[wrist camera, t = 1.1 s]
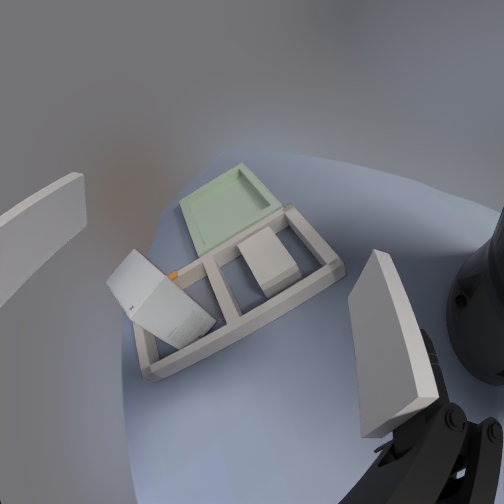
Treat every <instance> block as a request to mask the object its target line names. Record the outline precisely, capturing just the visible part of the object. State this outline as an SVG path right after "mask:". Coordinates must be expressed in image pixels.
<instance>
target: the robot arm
mask: <svg viewBox="0 0 504 504" xmlns="http://www.w3.org/2000/svg"><path fill="white" fill-rule="evenodd" d="M86 226H87V219H86V207H85V192H84V174H80V173H75V172H72V173H70V174H68V175H66V176H65V177H63V178H61V179H59V180H57V181H55V182H54V183H52V184H50V185H48V186H47V187H45V188H43V189H42V190H40V191H38V192H37V193H35V194H33V195H32V196H30V197H28V198H27V199H25V200H24V201H22V202H21V203H19V204H17V205H16V206H14V207H13V208H11V209H10V210H9V211H7V212H6V213H4V214H3V215H1V216H0V308H1V307H2V305H3V304H4V303H5V302H6V301H7V300H8V299H9V298H10V297H11V296H12V295H13V294H14V293H15V291H16V290H17V289H18V288H19V287H20V286H21V285H22V284H23V283H24V282H25V281H26V280H27V279H28V278H29V277H30V276H31V275H32V274H33V273H34V272H35V271H36V270H37V269H38V268H39V267H40V266H41V265H42V264H43V263H44V262H46V261H47V260H48V259H49V258H50V257H51V256H52V255H53V254H54V253H55V252H56V251H57V250H59V249H60V248H61V247H62V246H63V245H64V244H65V243H66V242H68V241H69V240H70V239H71V238H72V237H73V236H75V235H76V234H77V233H78V232H79V231H81V230H82V229H83V228H84V227H86ZM347 299H348V305H349V312H350V319H351V326H352V333H353V341H354V349H355V358H356V367H357V378H358V389H359V403H360V420H361V438H382V437H384V436H385V435H387V434H388V433H390V432H392V431H393V439H392V440H390V441H389V442H387V443H385V444H383V445H382V446H380V447H378V448H377V449H376V450H375V451H374V452H375V453H377V452H379V451H381V450H382V452H381V453H380V455H379V456H378V457H377V459H376V460H375V461H374V463H373V464H372V465H371V466H370V468H369V469H368V470H367V471H366V473H365V474H364V475H363V476H362V478H361V479H360V480H359V481H358V482H357V484H356V485H355V486H354V487H353V488H352V489H351V490H350V492H349V493H348V494H347V495H346V496H345V497H344V498H343V499H342V500H341V501H340V502H339V503H338V504H494V500H495V496H496V491H497V486H498V480H499V474H500V467H501V459H502V449H503V431H502V427H501V425H500V423H499V422H498V421H497V420H496V419H495V418H492V417H489V418H487V419H485V420H484V421H483V422H481V423H480V424H475V423H472V422H469V421H467V418H466V415H465V413H464V411H463V410H462V409H461V408H460V406H458V405H457V404H455V403H450V402H449V398H448V394H447V391H446V387H445V383H444V379H443V376H442V372H441V369H440V366H438V364H439V362H438V359H437V356H435V354H436V353H435V350H434V347H433V344H432V341H431V340H430V338H429V337H428V335H427V334H426V332H425V331H424V330H423V329H419V327H418V324H417V321H416V318H415V315H414V313H413V310H412V307H411V305H410V302H409V299H408V297H407V294H406V292H405V289H404V287H403V284H402V282H401V280H400V277H399V275H398V273H397V270H396V268H395V266H394V263H393V261H392V259H391V257H390V255H389V254H388V253H385V252H382V251H378V250H375V249H374V250H373V252H372V254H371V256H370V258H369V260H368V261H367V263H366V265H365V267H364V269H363V271H362V273H361V275H360V277H359V278H358V280H357V282H356V284H355V286H354V288H353V289H352V291H351V293H350V295H349V296H348V298H347ZM447 326H448V332H449V336H450V340H451V343H452V345H453V348H454V350H455V352H456V354H457V356H458V358H459V359H460V361H461V362H462V364H463V365H464V366H465V368H466V369H467V370H468V371H469V372H470V373H471V374H473V375H474V376H475V377H477V378H478V379H480V380H482V381H484V382H486V383H489V384H493V385H504V208H503V210H502V213H501V216H500V218H499V221H498V223H497V226H496V229H495V231H494V234H493V236H492V238H491V239H489V240H488V241H487V242H486V243H485V244H484V245H483V246H482V247H480V248H479V249H478V250H477V251H476V252H475V253H473V254H472V255H471V256H470V257H469V258H468V259H467V260H466V262H465V263H464V264H463V266H462V267H461V269H460V270H459V272H458V274H457V276H456V279H455V281H454V283H453V285H452V288H451V290H450V293H449V297H448V303H447ZM465 468H466V470H465V475H464V476H463V477H461V478H459V479H457V478H456V476H457V472H459V471H461V470H463V469H465ZM0 504H1V502H0Z"/></svg>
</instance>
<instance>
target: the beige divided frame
mask: <svg viewBox="0 0 504 504" xmlns="http://www.w3.org/2000/svg"><path fill="white" fill-rule="evenodd" d="M268 226H269V227H270V228H271V229H272V231H273V232H274V233H275V234H276V233H278V232H280V231H281V230H283V229H285V228H286V227H288V226H290V227H291V228H292V229H293V231H294V232H295V233H296V234H297V236H298V237H299V238H300V239H301V240H302V242H303V243H304V244H305V245H306V247H307V248H308V249H309V250H310V251H311V253H312V254H313V255H314V256H315V258H316V259H317V260H318V261H319V263H320V264H321V265H322V266H323V267H322V268H320V269H319V270H317V271H316V272H314V273H312V274H311V275H309V276H308V277H306V278H304V279H303V280H301V281H300V282H298V283H296V284H295V285H293V286H291V287H290V288H288V289H286V290H285V291H283V292H282V293H280V294H278V295H277V296H275V297H273V298H272V299H270V300H268V301H266V302H265V303H263V304H261V305H260V306H258V307H256V308H255V309H253V310H251V311H249V312H248V313H246V314H244V315H243V314H242V312H241V310H240V308H239V305H238V303H237V301H236V299H235V297H234V295H233V293H232V290H231V288H230V286H229V284H228V282H227V279H226V277H225V275H224V273H223V271H222V268H221V267H222V266H223V265H225V264H226V263H228V262H230V261H231V260H233V259H235V258H236V257H238V256H240V255H241V254H242V253H241V251H240V249H239V248H238V246H237V245H238V244H239V243H241V242H243V241H244V240H246V239H248V238H249V237H251V236H253V235H254V234H256V233H258V232H259V231H261V230H263V229H264V228H266V227H268ZM207 275H208V278H209V280H210V283H211V285H212V288H213V290H214V293H215V295H216V298H217V300H218V303H219V305H220V308H221V310H222V312H223V315H224V317H225V320H226V322H227V325H225V326H223V327H221V328H219V329H218V330H216V331H214V332H212V333H210V334H209V335H207V336H205V337H203V338H201V339H199V340H198V341H196V342H194V343H192V344H190V345H188V346H186V347H185V348H183V349H181V350H179V351H177V352H175V353H173V354H171V355H169V356H167V357H165V358H163V359H162V360H160V358H159V354H158V349H157V345H156V340H155V336H154V335H153V334H152V333H150V332H148V331H147V330H145V329H144V328H142V327H140V326H139V325H137V324H136V323H134V322H133V327H134V334H135V340H136V346H137V352H138V358H139V363H140V368H141V373H142V377H143V378H146V379H148V380H151V381H153V382H157V381H159V380H162V379H164V378H166V377H168V376H170V375H172V374H174V373H176V372H178V371H180V370H182V369H184V368H186V367H188V366H190V365H192V364H194V363H196V362H198V361H200V360H202V359H204V358H206V357H208V356H210V355H212V354H214V353H216V352H218V351H220V350H221V349H223V348H225V347H227V346H229V345H231V344H233V343H234V342H236V341H238V340H240V339H242V338H244V337H245V336H247V335H249V334H251V333H253V332H254V331H256V330H258V329H260V328H261V327H263V326H265V325H267V324H268V323H270V322H272V321H273V320H275V319H277V318H278V317H280V316H282V315H284V314H285V313H287V312H289V311H290V310H292V309H294V308H295V307H297V306H298V305H300V304H302V303H303V302H305V301H307V300H308V299H310V298H311V297H313V296H315V295H316V294H318V293H319V292H321V291H322V290H324V289H326V288H327V287H329V286H330V285H332V284H333V283H335V282H336V281H338V280H339V279H341V278H342V277H344V276H345V275H346V272H345V266H344V262H343V261H342V260H341V259H340V257H339V256H338V255H337V254H336V253H335V252H334V251H333V249H332V248H331V247H330V246H329V245H328V244H327V243H326V242H325V240H324V239H323V238H322V237H321V236H320V235H319V234H318V233H317V232H316V230H315V229H314V228H313V227H312V226H311V225H310V224H309V223H308V222H307V221H306V219H305V218H304V217H303V216H302V215H301V214H300V213H299V212H298V211H297V210H296V209H295V208H294V207H293V206H292V204H291V203H290V204H289V205H287V206H285V207H283V208H282V209H280V210H278V211H277V212H275V213H273V214H272V215H270V216H268V217H266V218H265V219H263V220H261V221H260V222H258V223H256V224H255V225H253V226H251V227H250V228H248V229H246V230H245V231H243V232H241V233H240V234H238V235H236V236H235V237H233V238H231V239H230V240H228V241H226V242H225V243H223V244H221V245H220V246H218V247H217V248H215V249H213V250H212V251H210V252H208V253H207V254H205V255H203V256H202V257H200V258H199V259H197V260H195V261H194V262H192V263H190V264H189V265H187V266H186V267H184V268H182V269H181V270H179V271H178V272H177V271H174V272H173V273H171V274H169V275H168V277H169V278H170V279H171V280H172V281H173V282H174V283H175V284H176V285H177V286H178V287H180V288H181V289H182V290H183V289H185V288H187V287H188V286H190V285H192V284H193V283H195V282H197V281H198V280H200V279H202V278H203V277H205V276H207Z"/></svg>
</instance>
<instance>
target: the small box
mask: <svg viewBox="0 0 504 504" xmlns="http://www.w3.org/2000/svg"><path fill="white" fill-rule="evenodd" d="M105 284H106V285H107V287H108V288H109V289H110V291H111V292H112V294H113V295H114V297H115V298H116V299H117V301H118V302H119V304H120V305H121V307H122V308H123V310H124V311H125V313H126V315H127V316H128V318H129V319H130V320H131V321H133V322H134V323H136V324H137V325H139V326H140V327H142V328H144V329H145V330H147V331H148V332H150V333H152V334H153V335H155V336H156V337H158V338H160V339H161V340H163V341H165V342H166V343H168V344H170V345H172V346H173V347H175V348H177V349H178V350H181V349H183V348H185V347H186V346H188V345H190V344H192V343H194V342H196V341H198V340H199V339H201V338H203V337H204V336H205V335H206V334H207V332H208V331H209V330H210V329H211V328H212V326H213V325H214V324H215V323H216V319H214V318H213V317H212V316H211V315H210V314H209V313H208V312H206V311H205V310H204V309H203V308H202V307H201V306H200V305H198V304H197V303H196V302H195V301H194V300H193V299H192V298H190V297H189V296H188V295H187V294H186V293H185V292H184V291H183V290H182V289H181V288H180V287H178V286H177V285H176V284H175V283H174V282H173V281H172V280H171V279H170V278H169V277H168V276H167V275H165V274H164V273H163V272H162V271H161V270H160V269H159V268H158V267H157V266H155V265H154V264H153V263H152V262H151V261H150V260H149V259H147V258H146V257H145V256H144V255H143V254H142V253H140V252H139V251H138V250H137V249H136V248H135V249H133V250H132V251H131V253H130V254H129V255H128V256H127V257H126V258H125V259H124V260H123V262H122V263H121V264H120V265H119V266H118V267H117V269H116V270H115V271H114V272H113V273H112V275H111V276H110V277H109V278H108V279H107V280H106V282H105Z"/></svg>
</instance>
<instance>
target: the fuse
mask: <svg viewBox="0 0 504 504" xmlns="http://www.w3.org/2000/svg"><path fill="white" fill-rule="evenodd" d="M237 246H238V248H239V249H240V251H241V253H242V255H243V257H244V258H245V260H246V262H247V264H248V266H249V267H250V269H251V271H252V273H253V275H254V276H255V278H256V280H257V282H258V284H259V285H260V287H261V289H262V291H263V292H264V294H265V295H266V297H267V298H268V300H270V299H272V298H273V297H275V296H277V295H278V294H280V293H282V292H283V291H285V290H286V289H288V288H290V287H291V286H293V285H295V284H296V283H298V282H300V281H301V280H303V276H302V274H301V271H300V269H299V268H298V265H297V263H296V262H295V261H294V259H293V258H292V256H291V255H290V254H289V252H288V251H287V250H286V248H285V247H284V246H283V244H282V243H281V241H280V240H279V239H278V237H277V236H276V235H275V233H274V232H273V231H272V229H271V228H270V227H269V226H268V227H266V228H264V229H263V230H261V231H259V232H258V233H256V234H254V235H253V236H251V237H249V238H248V239H246V240H244V241H243V242H241V243H239V244H238V245H237Z"/></svg>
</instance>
